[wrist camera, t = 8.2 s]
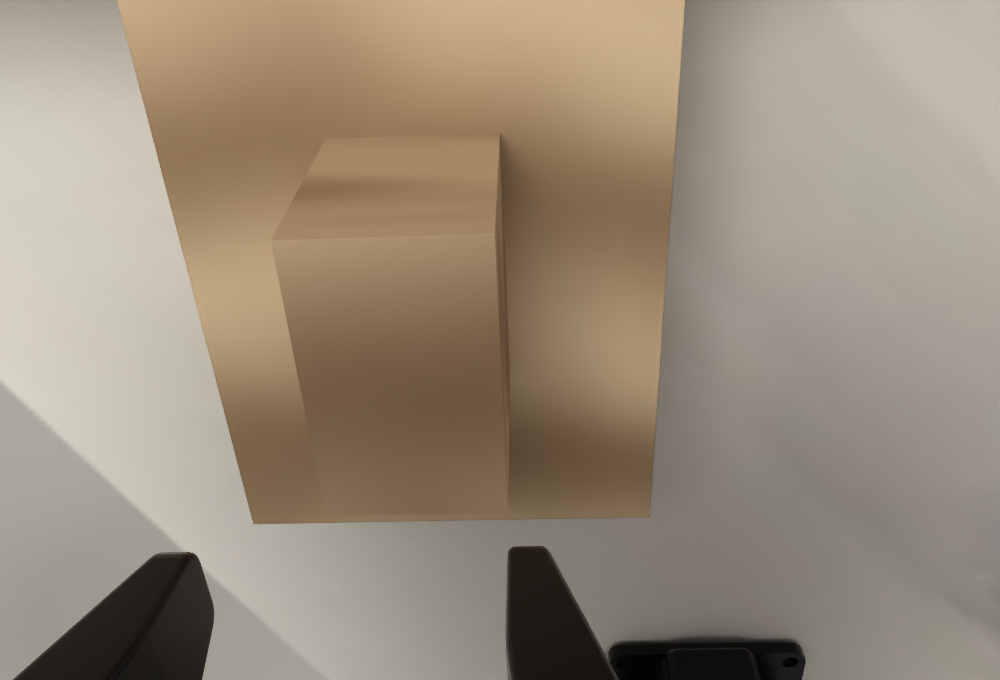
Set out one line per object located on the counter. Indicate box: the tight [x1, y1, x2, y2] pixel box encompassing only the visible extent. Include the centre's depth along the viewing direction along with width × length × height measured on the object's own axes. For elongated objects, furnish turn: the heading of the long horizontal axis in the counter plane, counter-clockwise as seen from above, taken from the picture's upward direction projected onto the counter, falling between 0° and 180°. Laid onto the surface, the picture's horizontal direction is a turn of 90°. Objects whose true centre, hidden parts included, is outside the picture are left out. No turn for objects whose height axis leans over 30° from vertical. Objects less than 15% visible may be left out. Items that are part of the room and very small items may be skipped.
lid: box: [117, 0, 685, 524], centre depth 14 cm, size 16×9×5 cm, turn 2°
